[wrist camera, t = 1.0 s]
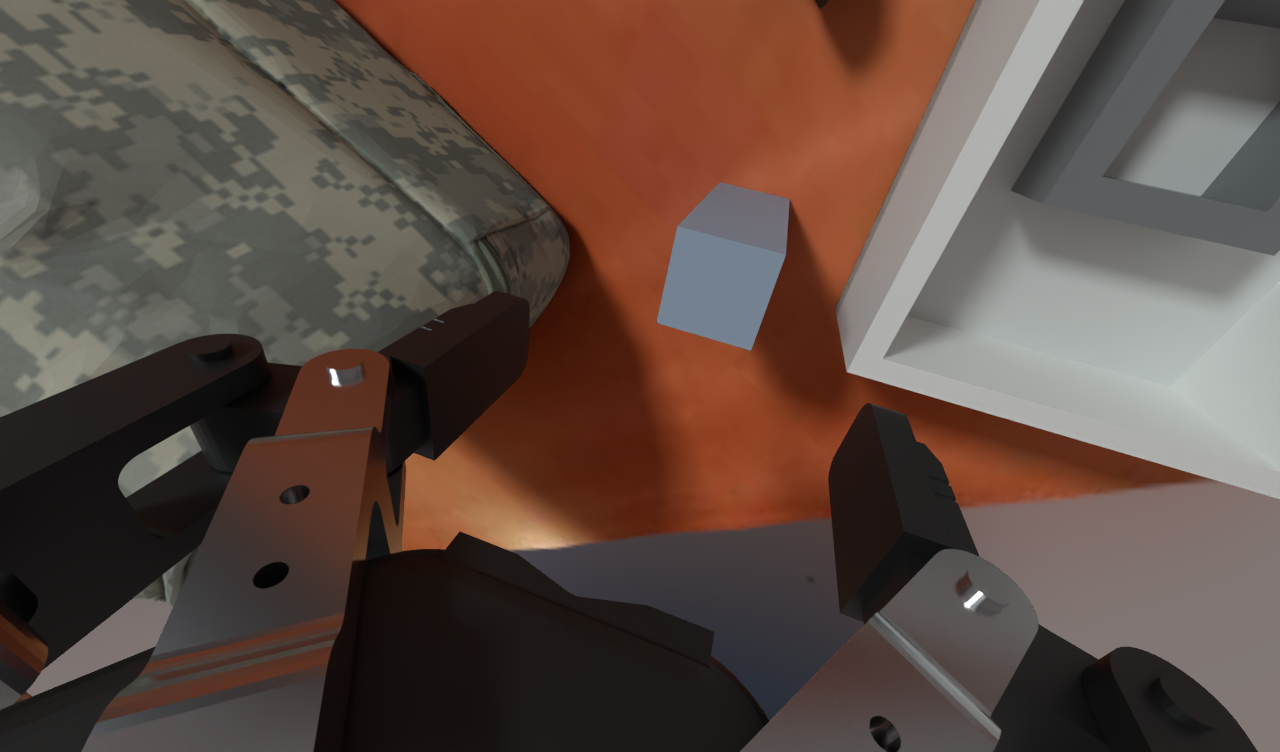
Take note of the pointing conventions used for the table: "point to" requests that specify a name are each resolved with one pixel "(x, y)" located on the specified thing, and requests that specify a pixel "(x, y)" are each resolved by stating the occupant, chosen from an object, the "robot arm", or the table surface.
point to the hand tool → (821, 3)
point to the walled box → (1092, 233)
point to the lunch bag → (235, 196)
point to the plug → (726, 265)
